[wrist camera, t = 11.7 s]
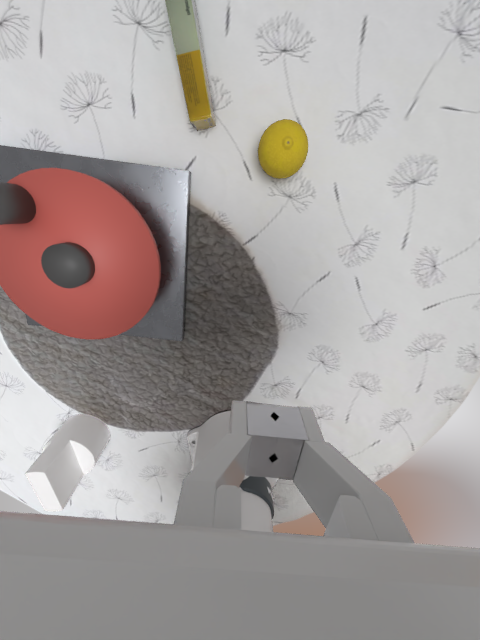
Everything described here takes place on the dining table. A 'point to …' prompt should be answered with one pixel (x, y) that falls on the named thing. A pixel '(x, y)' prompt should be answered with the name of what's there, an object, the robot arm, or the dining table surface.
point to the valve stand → (154, 206)
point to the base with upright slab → (67, 460)
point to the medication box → (191, 62)
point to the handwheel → (76, 253)
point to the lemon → (283, 148)
